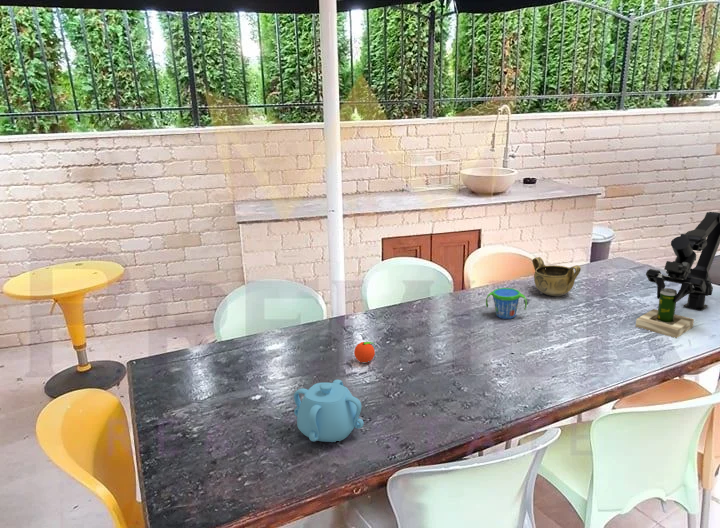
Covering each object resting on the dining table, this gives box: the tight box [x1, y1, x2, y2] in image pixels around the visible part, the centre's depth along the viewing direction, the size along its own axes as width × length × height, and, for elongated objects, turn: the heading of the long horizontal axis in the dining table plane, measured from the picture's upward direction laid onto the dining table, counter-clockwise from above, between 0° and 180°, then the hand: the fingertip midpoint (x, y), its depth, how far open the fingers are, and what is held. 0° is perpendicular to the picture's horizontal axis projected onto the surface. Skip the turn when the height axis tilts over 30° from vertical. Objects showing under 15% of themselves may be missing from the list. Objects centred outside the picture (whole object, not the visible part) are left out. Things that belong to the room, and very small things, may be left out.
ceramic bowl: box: [532, 256, 582, 297], centre depth 226 cm, size 22×17×15 cm
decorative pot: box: [293, 379, 365, 443], centre depth 136 cm, size 16×16×14 cm
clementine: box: [353, 341, 376, 363], centre depth 174 cm, size 8×7×7 cm
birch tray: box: [635, 308, 695, 339], centre depth 190 cm, size 14×14×4 cm
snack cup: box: [485, 287, 528, 320], centre depth 205 cm, size 16×10×10 cm
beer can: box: [657, 287, 678, 324], centre depth 188 cm, size 5×5×12 cm
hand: (666, 300), depth 186 cm, fingers closed on beer can, 5 cm apart
